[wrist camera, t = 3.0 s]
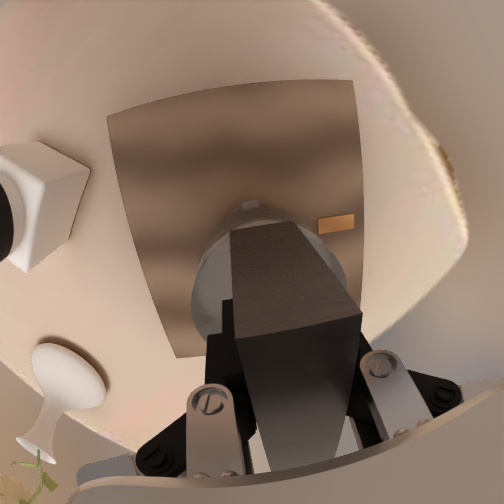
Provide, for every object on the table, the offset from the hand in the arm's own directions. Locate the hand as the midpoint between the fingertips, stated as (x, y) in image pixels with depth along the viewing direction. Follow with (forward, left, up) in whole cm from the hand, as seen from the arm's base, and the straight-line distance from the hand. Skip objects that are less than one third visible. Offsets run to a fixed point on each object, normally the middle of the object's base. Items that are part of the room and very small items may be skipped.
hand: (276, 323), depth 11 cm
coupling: (+1, 0, -5) cm, 5 cm away
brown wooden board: (0, 0, -12) cm, 12 cm away
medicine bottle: (-7, -17, -13) cm, 22 cm away
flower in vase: (+15, -26, -13) cm, 33 cm away
